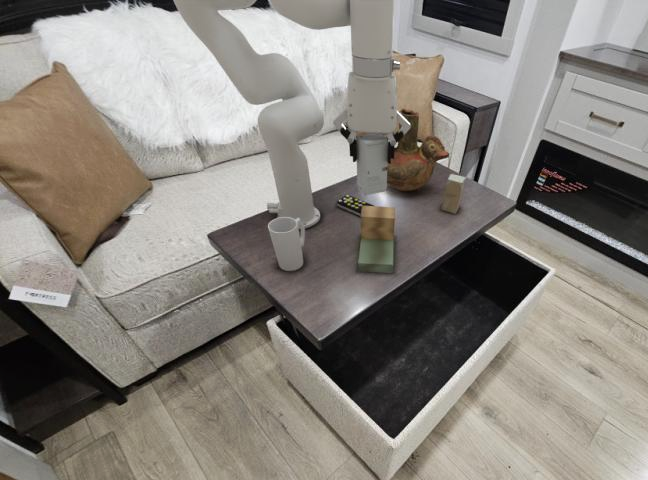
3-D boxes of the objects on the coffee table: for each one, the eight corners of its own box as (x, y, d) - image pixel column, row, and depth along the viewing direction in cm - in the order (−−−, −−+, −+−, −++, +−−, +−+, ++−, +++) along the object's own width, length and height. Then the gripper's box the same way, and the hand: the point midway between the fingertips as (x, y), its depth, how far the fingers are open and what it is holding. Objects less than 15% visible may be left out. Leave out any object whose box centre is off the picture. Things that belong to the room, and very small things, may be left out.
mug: (292, 275, 85) (283, 236, 76) (272, 266, 87) (261, 226, 78) (317, 254, 91) (312, 216, 83) (298, 246, 93) (290, 208, 85)
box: (441, 210, 111) (446, 178, 103) (444, 204, 114) (450, 172, 106) (456, 214, 110) (462, 182, 102) (459, 208, 113) (466, 176, 105)
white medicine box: (365, 196, 78) (364, 143, 70) (356, 188, 81) (354, 135, 72) (387, 190, 81) (389, 138, 72) (378, 182, 83) (378, 131, 75)
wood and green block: (358, 271, 88) (357, 240, 80) (362, 235, 99) (362, 205, 92) (392, 273, 88) (394, 242, 81) (393, 237, 99) (395, 207, 92)
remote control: (366, 219, 105) (366, 214, 103) (335, 206, 109) (334, 200, 107) (378, 211, 108) (378, 206, 107) (347, 198, 113) (347, 193, 111)
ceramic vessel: (439, 205, 113) (452, 127, 95) (365, 192, 116) (365, 114, 98) (446, 182, 125) (458, 109, 107) (379, 171, 128) (380, 97, 110)
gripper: (417, 65, 66) (409, 155, 79) (328, 59, 65) (335, 151, 78) (419, 75, 61) (411, 170, 74) (322, 68, 60) (331, 165, 73)
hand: (372, 159), depth 76 cm, fingers closed on white medicine box, 7 cm apart
